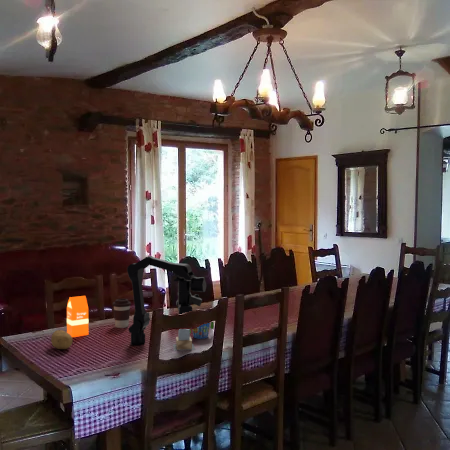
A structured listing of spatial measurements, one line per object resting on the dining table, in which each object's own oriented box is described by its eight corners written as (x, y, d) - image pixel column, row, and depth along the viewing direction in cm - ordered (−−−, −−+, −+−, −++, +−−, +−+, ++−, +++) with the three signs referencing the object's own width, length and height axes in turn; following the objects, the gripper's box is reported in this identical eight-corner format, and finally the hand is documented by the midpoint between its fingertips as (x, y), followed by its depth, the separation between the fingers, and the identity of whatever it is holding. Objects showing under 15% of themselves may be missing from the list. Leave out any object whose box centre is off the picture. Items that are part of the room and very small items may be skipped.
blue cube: (179, 340, 238) (179, 330, 238) (178, 337, 243) (178, 327, 243) (189, 340, 239) (189, 329, 239) (188, 337, 244) (188, 327, 244)
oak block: (177, 349, 237) (177, 341, 237) (176, 345, 244) (176, 337, 244) (191, 348, 239) (191, 340, 238) (190, 344, 245) (190, 336, 245)
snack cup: (208, 333, 269) (208, 314, 268) (219, 337, 260) (219, 318, 259) (182, 337, 260) (182, 317, 259) (192, 342, 251) (192, 321, 251)
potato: (55, 354, 230) (55, 336, 229) (47, 346, 241) (47, 330, 241) (77, 350, 235) (77, 333, 235) (68, 343, 247) (67, 327, 247)
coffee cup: (111, 325, 283) (110, 298, 283) (128, 323, 288) (128, 297, 287) (114, 329, 274) (114, 302, 274) (132, 327, 279) (132, 300, 278)
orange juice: (66, 334, 264) (66, 296, 263) (83, 331, 269) (82, 294, 268) (72, 337, 258) (71, 298, 257) (88, 334, 263) (88, 296, 262)
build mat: (174, 351, 236) (174, 350, 236) (172, 345, 246) (172, 344, 246) (195, 350, 237) (195, 349, 237) (193, 344, 247) (193, 343, 247)
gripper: (203, 293, 232) (203, 327, 233) (198, 287, 251) (198, 318, 251) (179, 294, 231) (179, 328, 231) (176, 287, 249) (176, 318, 250)
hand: (184, 323), depth 241 cm, fingers open, 9 cm apart
